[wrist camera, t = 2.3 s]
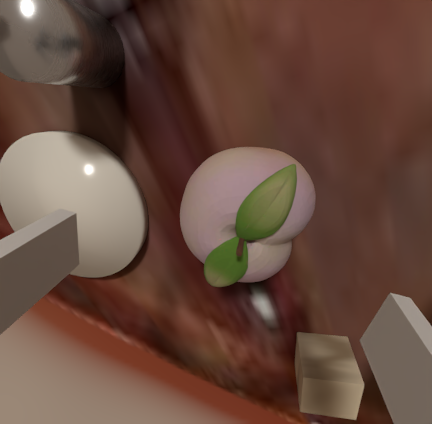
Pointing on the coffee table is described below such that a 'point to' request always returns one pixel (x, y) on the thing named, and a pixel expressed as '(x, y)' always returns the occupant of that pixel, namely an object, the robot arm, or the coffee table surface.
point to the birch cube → (327, 376)
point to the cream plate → (76, 196)
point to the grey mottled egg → (58, 44)
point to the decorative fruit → (245, 213)
